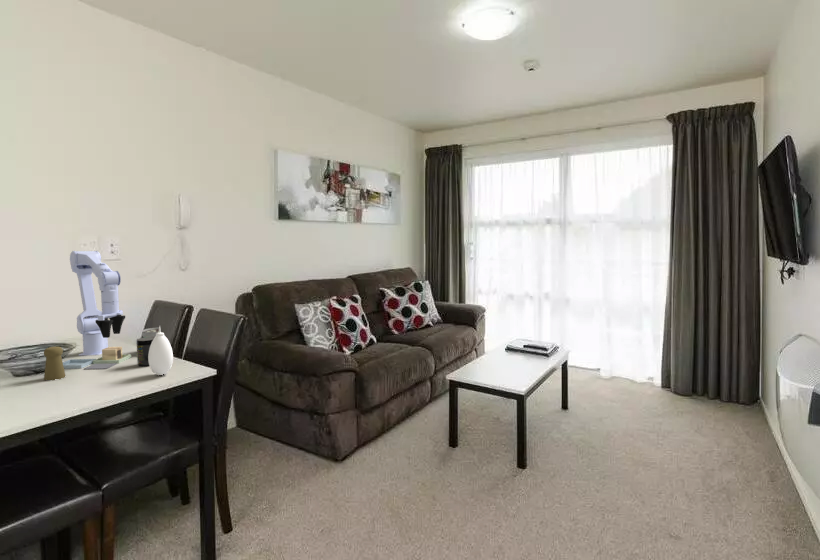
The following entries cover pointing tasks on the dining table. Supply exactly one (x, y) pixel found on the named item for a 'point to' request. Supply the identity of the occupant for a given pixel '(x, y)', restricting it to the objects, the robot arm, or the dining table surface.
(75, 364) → the blue-grey tray
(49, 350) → the cork
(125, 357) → the sage tray
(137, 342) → the supplement container
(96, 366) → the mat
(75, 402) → the dining table surface
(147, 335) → the food container
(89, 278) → the robot arm
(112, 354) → the letter block
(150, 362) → the white air blower bulb
